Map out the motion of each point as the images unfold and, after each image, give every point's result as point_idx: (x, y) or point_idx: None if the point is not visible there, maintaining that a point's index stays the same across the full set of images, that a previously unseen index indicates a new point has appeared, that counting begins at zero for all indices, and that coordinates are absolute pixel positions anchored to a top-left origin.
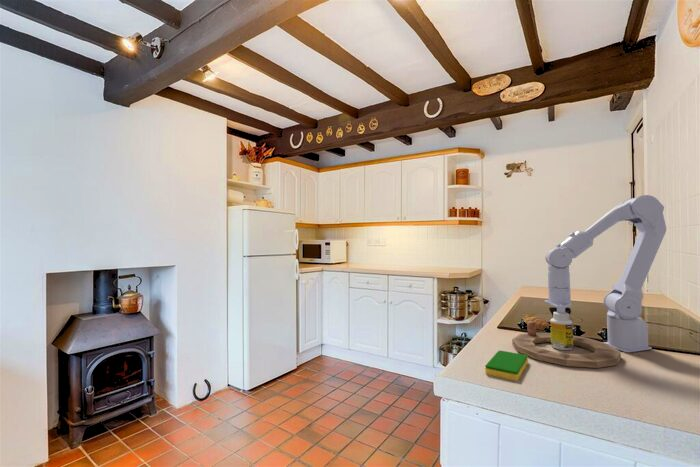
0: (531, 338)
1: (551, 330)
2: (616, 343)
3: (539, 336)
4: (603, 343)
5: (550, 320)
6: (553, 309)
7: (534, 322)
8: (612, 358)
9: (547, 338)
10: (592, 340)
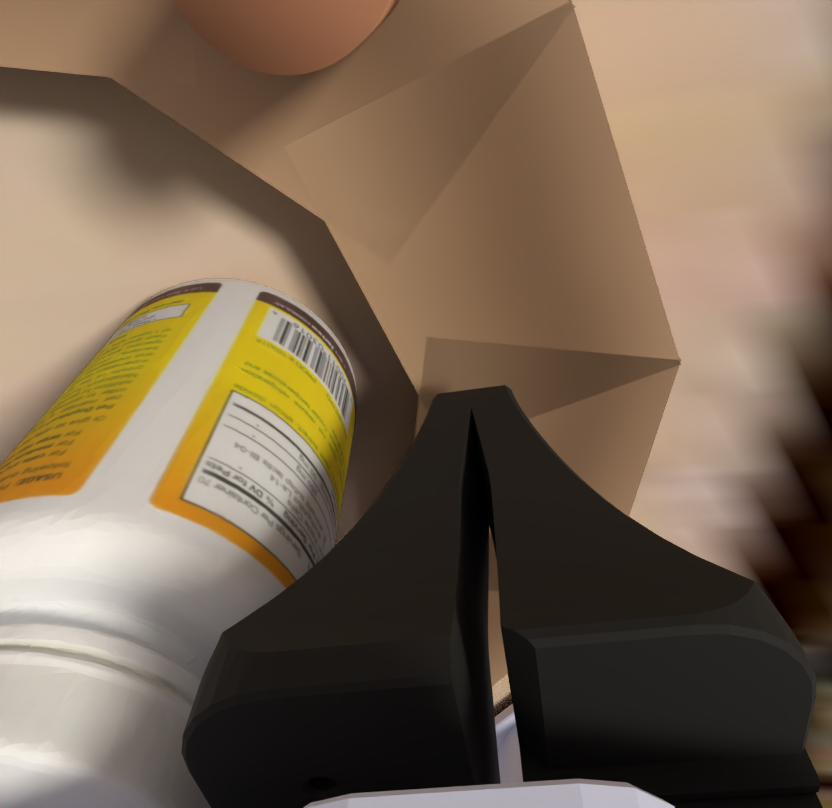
0: (44, 3)
1: (53, 412)
2: (516, 762)
3: (288, 113)
4: None
5: (7, 517)
6: (207, 776)
7: (270, 36)
8: None
9: (332, 230)
10: (502, 645)
